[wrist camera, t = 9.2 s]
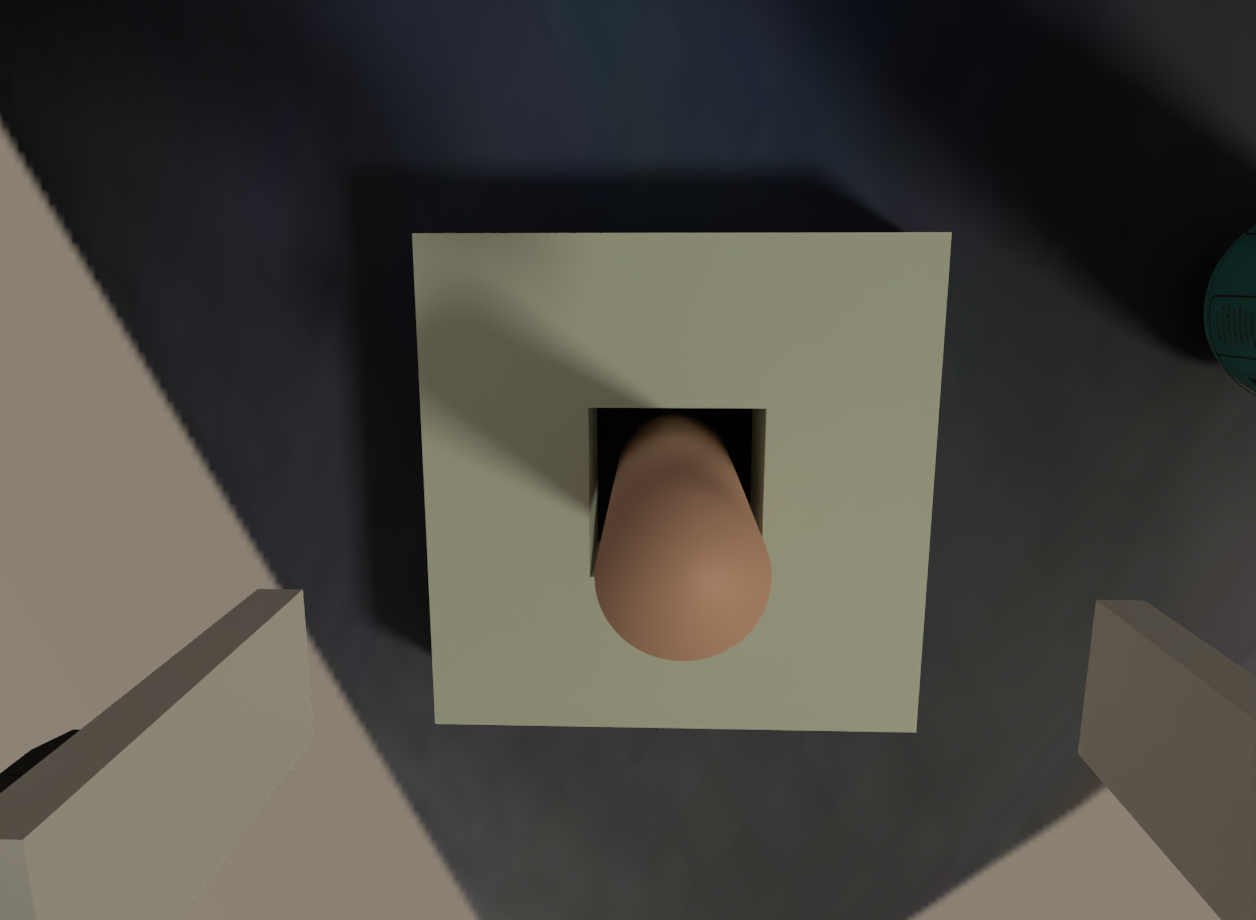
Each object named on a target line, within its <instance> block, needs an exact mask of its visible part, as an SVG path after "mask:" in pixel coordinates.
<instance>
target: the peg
mask: <svg viewBox="0 0 1256 920" xmlns="http://www.w3.org/2000/svg"><path fill="white" fill-rule="evenodd" d="M594 580H595V590H596V595H597V599H598V602H599V605H600V607H601V610H602V612H603V614H604V616H605V618H606V619H607V621H608V622H609V624H610V625H611V627H612V628H613V629H614V630H615V631H616V632H617V633H618V635H619V636H620V637H622V638H623V639H624V640H625V641H626V642H628V643H629V644H630V645H632V646H633V647H635V648H636V649H638V650H640V651H642V652H644V653H646V654H648V655H651V656H654V657H657V658H661V659H666V660H673V661H694V660H700V659H705V658H708V657H712V656H715V655H717V654H720V653H722V652H724V651H726V650H728V649H729V648H731V647H733V646H734V645H736V644H737V643H738V642H740V641H741V640H742V639H743V638H744V637H745V636H746V635H747V634H748V633H749V632H750V631H751V630H752V629H753V628H754V626H755V625H756V624H757V622H758V621H759V619H760V617H761V616H762V614H763V612H764V610H765V607H766V605H767V602H768V599H769V595H770V590H771V581H772V576H771V564H770V558H769V555H768V552H767V549H766V546H765V543H764V541H763V538H762V536H761V533H760V531H759V528H758V526H757V523H756V521H755V518H754V516H753V513H752V511H751V508H750V506H749V503H748V501H747V498H746V496H745V493H744V491H743V488H742V486H741V483H740V481H739V478H738V476H737V473H736V471H735V468H734V466H733V463H732V461H731V458H730V456H729V453H728V451H727V448H726V446H725V444H724V442H723V440H722V439H721V437H720V436H719V434H718V433H717V432H716V431H715V430H714V429H713V428H712V427H711V426H710V425H708V424H707V423H706V422H704V421H702V420H700V419H698V418H696V417H693V416H691V415H686V414H680V413H668V414H662V415H659V416H655V417H653V418H651V419H649V420H647V421H645V422H643V423H642V424H640V425H639V426H638V427H637V428H636V429H635V430H634V431H633V432H632V433H631V434H630V436H629V437H628V438H627V440H626V442H625V444H624V446H623V448H622V451H621V454H620V458H619V463H618V467H617V471H616V476H615V480H614V484H613V489H612V493H611V498H610V502H609V506H608V511H607V515H606V519H605V524H604V528H603V532H602V537H601V541H600V545H599V550H598V554H597V559H596V564H595V575H594Z"/></svg>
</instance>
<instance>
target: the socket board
mask: <svg viewBox="0 0 1256 920" xmlns="http://www.w3.org/2000/svg"><path fill="white" fill-rule="evenodd" d="M951 236H952V232H836V233H412V243H413V264H414V285H415V306H416V327H417V348H418V370H419V391H420V412H421V433H422V454H423V475H424V496H425V518H426V539H427V560H428V581H429V602H430V623H431V644H432V665H433V687H434V708H435V724H473V725H528V726H584V727H640V728H696V729H751V730H807V731H863V732H916V726H917V712H918V698H919V684H920V670H921V656H922V642H923V628H924V614H925V600H926V586H927V572H928V558H929V544H930V530H931V516H932V502H933V488H934V474H935V460H936V446H937V432H938V418H939V404H940V390H941V376H942V362H943V348H944V334H945V320H946V306H947V292H948V278H949V264H950V250H951ZM597 408H747V409H753V410H752V444H751V479H750V508H751V511H752V513H753V516H754V518H755V521H756V523H757V526H758V528H759V531H760V533H761V536H762V538H763V541H764V543H765V546H766V549H767V552H768V555H769V558H770V564H771V576H772V581H771V590H770V595H769V599H768V602H767V605H766V607H765V610H764V612H763V614H762V616H761V617H760V619H759V621H758V622H757V624H756V625H755V626H754V628H753V629H752V630H751V631H750V632H749V633H748V634H747V635H746V636H745V637H744V638H743V639H742V640H741V641H740V642H738V643H737V644H736V645H734V646H733V647H731V648H729V649H728V650H726V651H724V652H722V653H720V654H717V655H715V656H712V657H708V658H705V659H700V660H694V661H673V660H666V659H661V658H657V657H654V656H651V655H648V654H646V653H644V652H642V651H640V650H638V649H636V648H635V647H633V646H632V645H630V644H629V643H628V642H626V641H625V640H624V639H623V638H622V637H620V636H619V635H618V633H617V632H616V631H615V630H614V629H613V628H612V627H611V625H610V624H609V622H608V621H607V619H606V618H605V616H604V614H603V612H602V610H601V607H600V605H599V602H598V599H597V595H596V590H595V580H594V575H595V564H596V559H597V554H598V550H599V545H600V541H598V436H597Z"/></svg>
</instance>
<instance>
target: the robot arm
mask: <svg viewBox="0 0 1256 920" xmlns="http://www.w3.org/2000/svg"><path fill="white" fill-rule="evenodd" d="M314 739H315V732H314V721H313V709H312V696H311V684H310V673H309V662H308V648H307V636H306V624H305V612H304V600H303V590H285V589H257V590H256V591H255V592H254V593H252V594H251V595H250V596H249V597H247V598H246V599H245V600H244V601H242V602H241V603H240V604H239V605H237V606H236V607H235V608H233V609H232V610H231V611H230V612H228V613H227V614H226V615H225V616H223V617H222V618H221V619H220V620H219V621H217V622H216V623H215V624H213V625H212V626H211V627H210V628H208V629H207V630H206V631H204V632H203V633H202V634H201V635H199V636H198V637H197V638H196V639H194V640H193V641H192V642H191V643H189V644H188V645H187V646H186V647H184V648H183V649H182V650H181V651H179V652H178V653H177V654H175V655H174V656H173V657H172V658H170V659H169V660H168V661H167V662H165V663H164V664H163V665H162V666H160V667H159V668H158V669H157V670H155V671H154V672H153V673H152V674H150V675H149V676H148V677H146V678H145V679H144V680H143V681H141V682H140V683H139V684H138V685H136V686H135V687H134V688H133V689H131V690H130V691H129V692H128V693H126V694H125V695H124V696H123V697H121V698H120V699H119V700H117V701H116V702H115V703H114V704H112V705H111V706H110V707H109V708H107V709H106V710H105V711H104V712H102V713H101V714H100V715H99V716H97V717H96V718H95V719H93V720H92V721H91V722H90V723H88V724H87V725H86V726H85V727H83V728H82V729H81V730H71V731H69V732H67V733H65V734H63V735H61V736H59V737H57V738H55V739H53V740H51V741H49V742H47V743H44V744H42V745H40V746H39V747H36V748H34V749H32V750H30V751H29V752H28V753H26V754H25V755H24V756H23V757H21V758H20V759H19V760H17V761H16V762H15V763H13V764H12V765H11V766H9V767H8V768H7V769H6V770H4V771H3V772H2V773H0V920H182V918H183V917H184V916H185V914H186V913H187V912H188V910H189V909H190V908H191V906H192V904H194V902H195V901H196V899H197V898H198V897H199V895H200V894H201V893H202V891H203V890H204V889H205V887H206V886H207V885H208V883H209V882H210V880H211V879H212V878H213V876H214V875H215V874H216V872H217V871H218V870H219V868H220V867H221V866H222V864H223V863H224V861H225V860H226V859H227V857H228V856H229V855H230V853H231V852H232V851H233V849H234V848H235V846H236V845H237V844H238V842H239V841H240V840H241V838H242V837H243V836H244V834H245V833H246V831H247V830H248V829H249V828H250V826H251V825H252V823H253V822H254V821H255V819H256V818H257V817H258V815H259V814H260V813H261V811H262V810H263V809H264V807H265V806H266V805H267V803H268V802H269V800H270V799H271V798H272V796H273V795H274V794H275V792H276V791H277V790H278V788H279V787H280V785H281V784H282V783H283V781H284V780H285V779H286V777H287V776H288V775H289V773H290V772H291V770H292V769H293V768H294V767H295V765H296V764H297V762H298V761H299V760H300V758H301V757H302V756H303V754H304V753H305V751H306V750H307V749H308V748H309V746H310V745H311V743H312V742H313V741H314ZM1078 754H1079V755H1080V756H1081V757H1082V759H1083V760H1084V761H1085V762H1086V763H1087V764H1088V766H1089V767H1090V768H1091V769H1092V770H1093V771H1094V772H1095V774H1096V775H1097V776H1098V777H1099V778H1100V779H1101V781H1102V782H1103V783H1104V784H1105V785H1106V786H1107V788H1108V789H1109V790H1110V791H1111V792H1112V793H1113V794H1114V796H1115V797H1116V798H1117V799H1118V800H1119V801H1120V803H1121V804H1122V805H1123V806H1124V807H1125V808H1126V809H1127V811H1128V812H1129V813H1130V814H1131V815H1132V816H1133V818H1134V819H1135V820H1136V821H1137V822H1138V824H1139V825H1140V826H1141V827H1142V828H1143V829H1144V830H1145V832H1146V833H1147V834H1148V835H1149V836H1150V837H1151V839H1152V840H1153V841H1154V842H1155V843H1156V844H1157V845H1158V847H1159V848H1160V849H1161V850H1162V851H1163V853H1164V854H1165V855H1166V856H1167V857H1168V858H1169V859H1170V861H1171V862H1172V863H1173V864H1174V865H1175V866H1176V868H1178V870H1179V871H1180V872H1181V873H1182V875H1183V876H1184V877H1185V878H1186V879H1187V880H1188V882H1189V883H1190V884H1191V885H1192V886H1193V887H1194V888H1195V890H1196V891H1197V892H1198V893H1199V894H1200V895H1201V897H1202V898H1203V899H1204V900H1205V901H1206V902H1207V903H1208V905H1209V906H1210V907H1211V908H1212V909H1213V911H1214V912H1215V913H1216V914H1217V915H1218V916H1219V917H1220V918H1221V920H1256V677H1255V676H1253V675H1252V674H1251V673H1249V672H1248V671H1246V670H1245V669H1243V668H1242V667H1240V666H1239V665H1237V664H1236V663H1234V662H1233V661H1232V660H1230V659H1229V658H1227V657H1226V656H1224V655H1223V654H1221V653H1220V652H1218V651H1217V650H1216V649H1214V648H1213V647H1211V646H1210V645H1208V644H1207V643H1205V642H1204V641H1202V640H1201V639H1199V638H1198V637H1197V636H1195V635H1194V634H1192V633H1191V632H1189V631H1188V630H1186V629H1185V628H1183V627H1182V626H1180V625H1179V624H1178V623H1176V622H1175V621H1173V620H1172V619H1170V618H1169V617H1167V616H1166V615H1164V614H1163V613H1162V612H1160V611H1159V610H1157V609H1156V608H1154V607H1153V606H1151V605H1150V604H1148V603H1147V602H1145V601H1137V600H1096V606H1095V614H1094V623H1093V631H1092V639H1091V648H1090V656H1089V664H1088V673H1087V681H1086V689H1085V698H1084V706H1083V715H1082V723H1081V731H1080V740H1079V748H1078Z"/></svg>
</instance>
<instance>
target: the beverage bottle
mask: <svg viewBox="0 0 1256 920" xmlns="http://www.w3.org/2000/svg"><path fill="white" fill-rule="evenodd" d="M1204 326H1205V331H1206V336H1207V340H1208V342H1209V345H1210V347H1211V350H1212V352H1213V353H1214V355H1215V357H1216V359H1217V360H1218V361H1219V363H1220V364H1221V365H1222V367H1223V368H1224V369H1225V370H1226V371H1227V372H1228V374H1229V375H1230V376H1231V377H1232V378H1233V377H1234V378H1235V379H1236V380H1238V381H1239V382H1240V383H1242V384H1244V385H1245V386H1246V387H1248V388H1250V389H1252V390H1253V391H1254V392H1255V393H1256V223H1255V224H1254V225H1253V226H1252V227H1251V228H1250V229H1249V230H1247V231H1246V232H1245V233H1244V234H1242V235H1241V236H1240V237H1239V238H1238V239H1237V240H1236V241H1235V242H1234V243H1233V244H1232V245H1231V246H1230V247H1229V248H1228V250H1227V251H1226V252H1225V254H1224V255H1223V256H1222V258H1221V259H1220V261H1219V263H1218V264H1217V266H1216V268H1215V270H1214V272H1213V274H1212V276H1211V279H1210V281H1209V284H1208V288H1207V291H1206V296H1205V302H1204ZM1234 378H1233V379H1234ZM1235 379H1234V380H1235ZM1236 380H1235V381H1236ZM1236 382H1237V381H1236ZM1237 383H1238V382H1237ZM1238 384H1239V383H1238ZM1239 385H1240V384H1239ZM1240 386H1241V385H1240ZM1241 387H1242V386H1241ZM1243 388H1244V387H1243ZM1244 389H1245V388H1244ZM1245 390H1246V389H1245ZM1247 391H1248V390H1247ZM1248 392H1249V391H1248ZM1250 393H1251V392H1250ZM1252 394H1253V393H1252ZM1253 395H1254V394H1253ZM1255 396H1256V395H1255Z"/></svg>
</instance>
